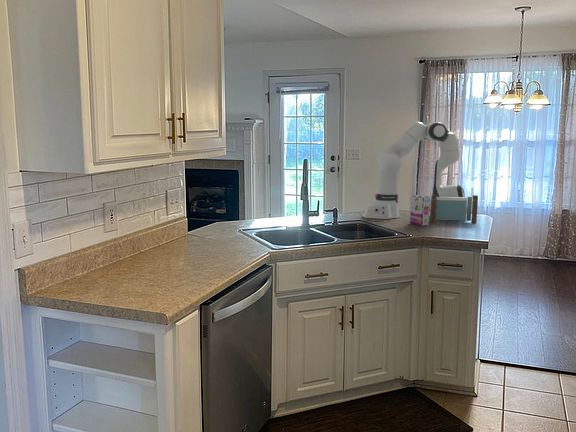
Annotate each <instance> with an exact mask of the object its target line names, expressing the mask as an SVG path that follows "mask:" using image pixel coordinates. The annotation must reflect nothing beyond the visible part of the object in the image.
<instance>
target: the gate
mask: <svg viewBox="0 0 576 432" xmlns="http://www.w3.org/2000/svg"><path fill="white" fill-rule="evenodd" d="M472 202H473V196H467V197H436V218H435V221H436V220H437V221H439V220H440V221H441V220H442V221H469V222H470V221H472ZM431 203H432V196H430V205H429V220H431ZM466 209H467V215H466Z"/></svg>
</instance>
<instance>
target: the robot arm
mask: <svg viewBox="0 0 576 432" xmlns="http://www.w3.org/2000/svg"><path fill="white" fill-rule="evenodd" d="M423 139H425V140H427V141H433V142H437V143H438V145H439V151H440V153H439V158H438V159H437V160H436V161H435V163H434V164H435V165H434V177H433V187H432V193H431V196H432V195H436V197H465V190H464V188H463V187H462V186H461V185H460V184H450V185H442V177H443V171H444V170H445V169H447V168H448V167H451V166H453V165H454V164H456V163H457V162H458V160H459V159H460V147H459V142H458V138H457V135H456V133H454V132H452V131H449V129H447V127H446V125H445V124H444V123H442V122H439V121H435V122H430V123H427V124H424V123H423V122H421V121H414V122H412V123H411V124H410V125H409V126H408V127H407V128H406V129H405V130H404V131H403V132H402V133H401V134H400V135H399V137H398V138H397V139H396V140H395V141H394V142H393V143H392V144H391V145H389V146H388V147H387V148H386V149H385V150H384V151H383V152H382V153H381V154H379V156H377V159H376V163H377V165H378V168H379V169H380V170H381V175H380V178H379V181H378V182H379V185H378V193H375V194H374V198H375V200H373V201H372V202H371V203H370V204H368V205H367V207H366V209H365V212H364V213H362V218H365V219H381V220H382V219H383V220H389V219H398V218H400V214H399V208H398V203H399V194H398V186H399V185H398V183H399V178H400V171H401V168H402V165H403V161H402V159H403V158H405V157H406V156H407V155H410V154H411V152H412V151H413V150H414V149H415V147H416V146H417V145H418V144H420V141H421V140H423ZM466 216H467V209H466Z"/></svg>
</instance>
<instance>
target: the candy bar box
mask: <svg viewBox="0 0 576 432" xmlns="http://www.w3.org/2000/svg"><path fill="white" fill-rule="evenodd" d="M430 203H431V196H427V195H420V194H411V195H410V215H409V216H410V217H409V218H410V219H409V221H410V222H409V223H410V224H411V225H417V226H420V227H426V226H429V224H430Z"/></svg>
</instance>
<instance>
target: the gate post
mask: <svg viewBox="0 0 576 432" xmlns="http://www.w3.org/2000/svg"><path fill="white" fill-rule="evenodd" d="M478 200H479V195H477V194H472V207H471V224H474V225H475V224H478V223H477V219H478V206H479V205H478V202H479V201H478Z"/></svg>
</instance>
